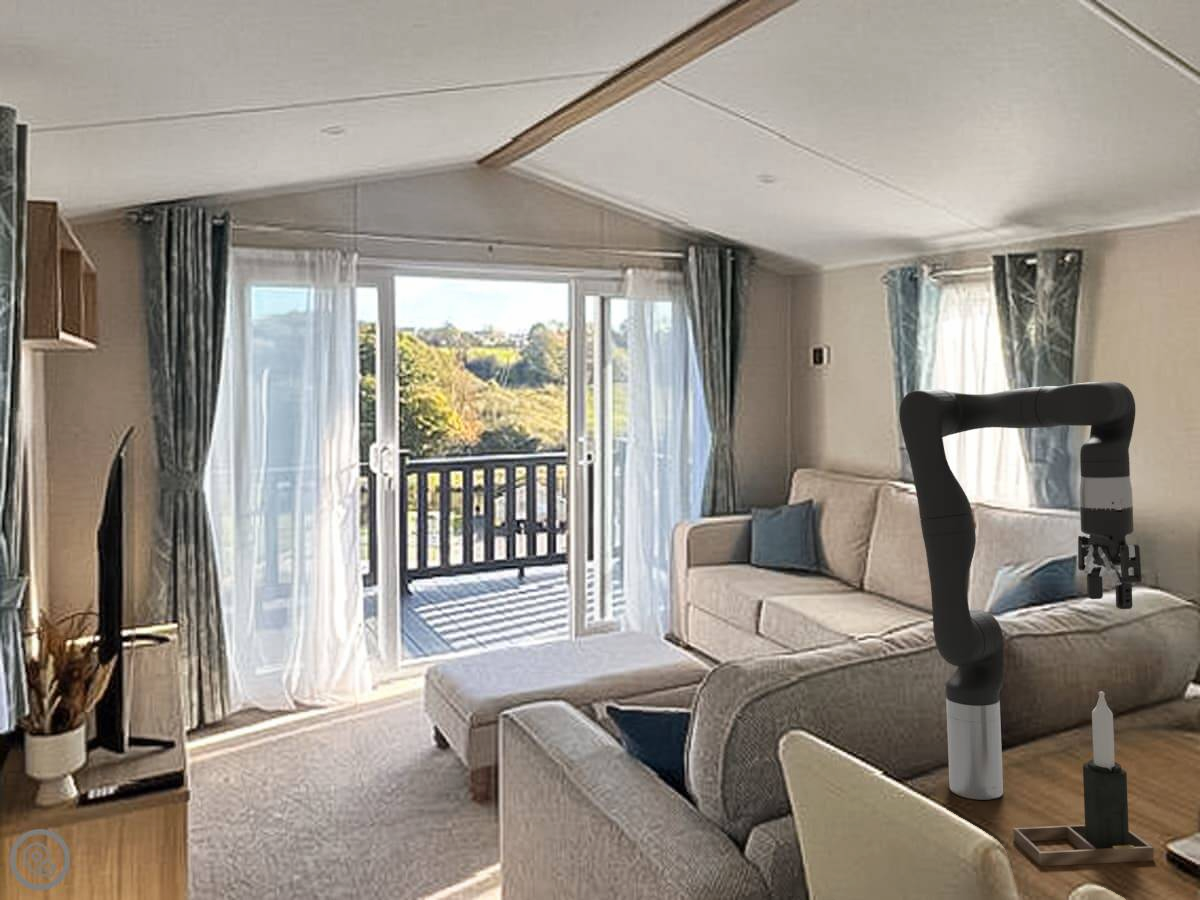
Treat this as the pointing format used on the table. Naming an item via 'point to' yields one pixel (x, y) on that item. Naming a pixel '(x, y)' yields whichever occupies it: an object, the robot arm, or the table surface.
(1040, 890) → the table surface
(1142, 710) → the table surface
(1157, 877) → the table surface
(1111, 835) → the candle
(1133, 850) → the divided wooden tray
